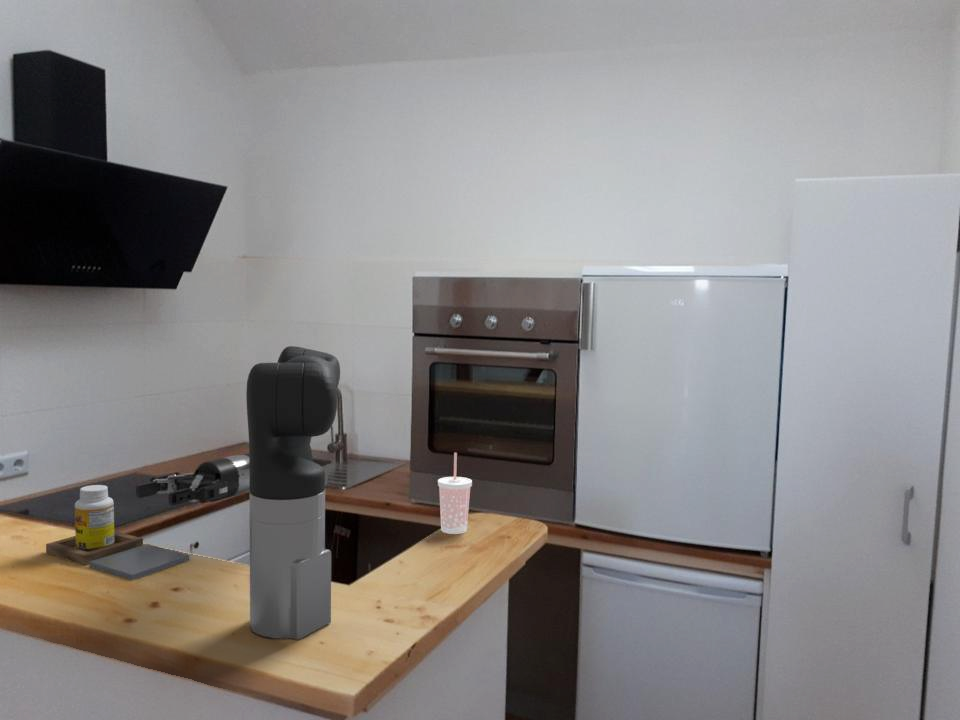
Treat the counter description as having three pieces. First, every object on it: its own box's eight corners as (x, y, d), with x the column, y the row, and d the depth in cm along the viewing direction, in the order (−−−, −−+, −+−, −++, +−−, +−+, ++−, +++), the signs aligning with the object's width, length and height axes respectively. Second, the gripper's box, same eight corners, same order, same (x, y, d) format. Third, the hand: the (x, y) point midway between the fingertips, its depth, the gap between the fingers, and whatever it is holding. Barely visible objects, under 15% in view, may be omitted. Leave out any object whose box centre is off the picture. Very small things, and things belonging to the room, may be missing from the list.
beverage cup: (452, 522, 145) (453, 447, 143) (478, 529, 141) (479, 452, 140) (429, 530, 140) (431, 452, 139) (456, 537, 136) (457, 457, 135)
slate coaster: (189, 560, 122) (189, 555, 122) (132, 580, 113) (132, 574, 113) (147, 548, 127) (147, 543, 127) (89, 566, 118) (89, 561, 118)
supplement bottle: (74, 548, 127) (72, 485, 126) (112, 543, 129) (111, 481, 129) (77, 558, 122) (75, 493, 121) (116, 552, 125) (115, 489, 124)
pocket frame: (143, 547, 127) (142, 538, 127) (85, 565, 119) (85, 555, 119) (104, 536, 132) (103, 528, 132) (46, 553, 124) (46, 544, 124)
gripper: (200, 453, 152) (126, 468, 138) (254, 462, 145) (181, 479, 131) (201, 491, 152) (126, 510, 138) (254, 502, 145) (181, 524, 131)
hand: (153, 495), depth 134 cm, fingers open, 8 cm apart
